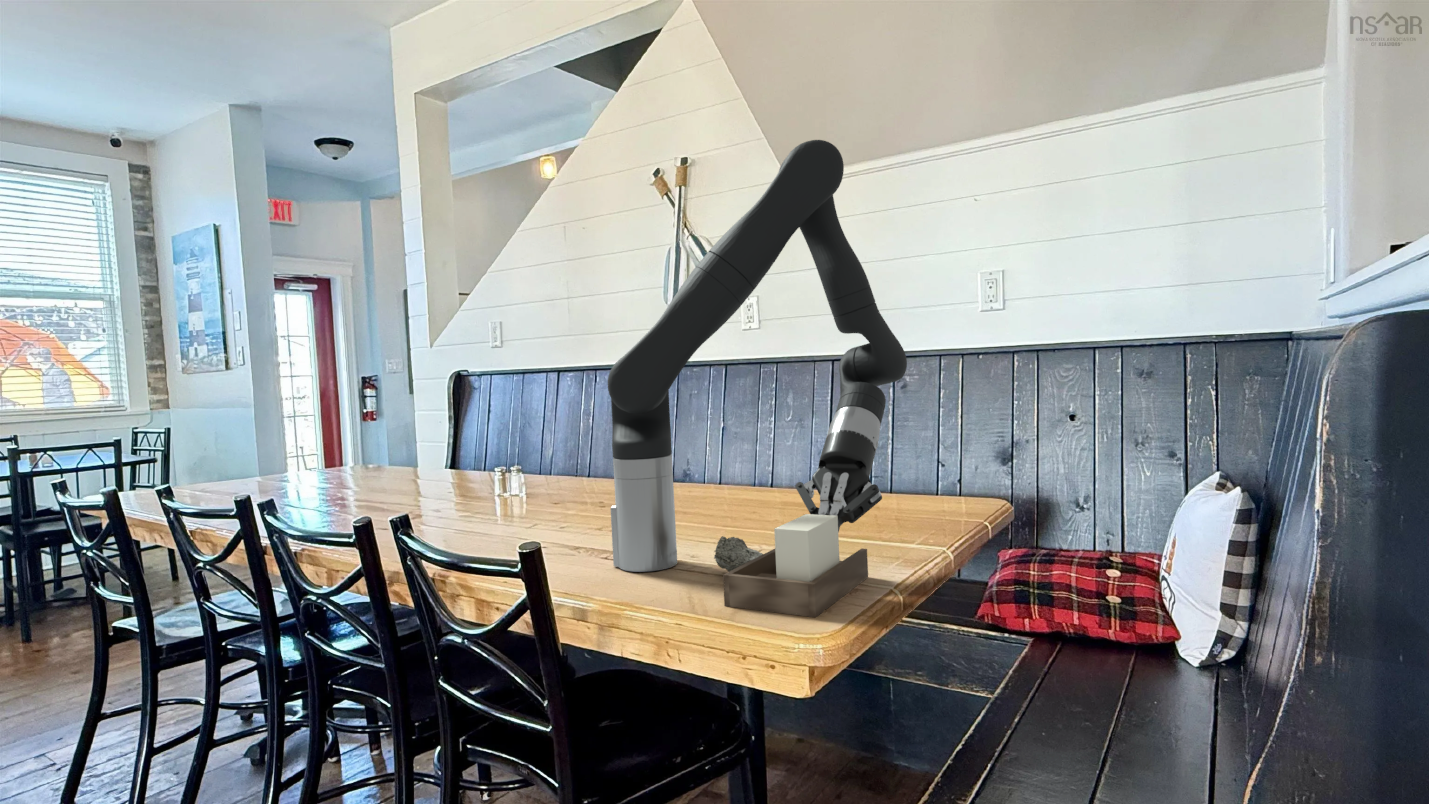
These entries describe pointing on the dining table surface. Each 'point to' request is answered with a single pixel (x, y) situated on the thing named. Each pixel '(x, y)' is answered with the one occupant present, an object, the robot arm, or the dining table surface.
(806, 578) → the brick
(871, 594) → the dining table surface
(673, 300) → the robot arm
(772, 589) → the box
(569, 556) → the dining table surface
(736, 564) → the rock sample
